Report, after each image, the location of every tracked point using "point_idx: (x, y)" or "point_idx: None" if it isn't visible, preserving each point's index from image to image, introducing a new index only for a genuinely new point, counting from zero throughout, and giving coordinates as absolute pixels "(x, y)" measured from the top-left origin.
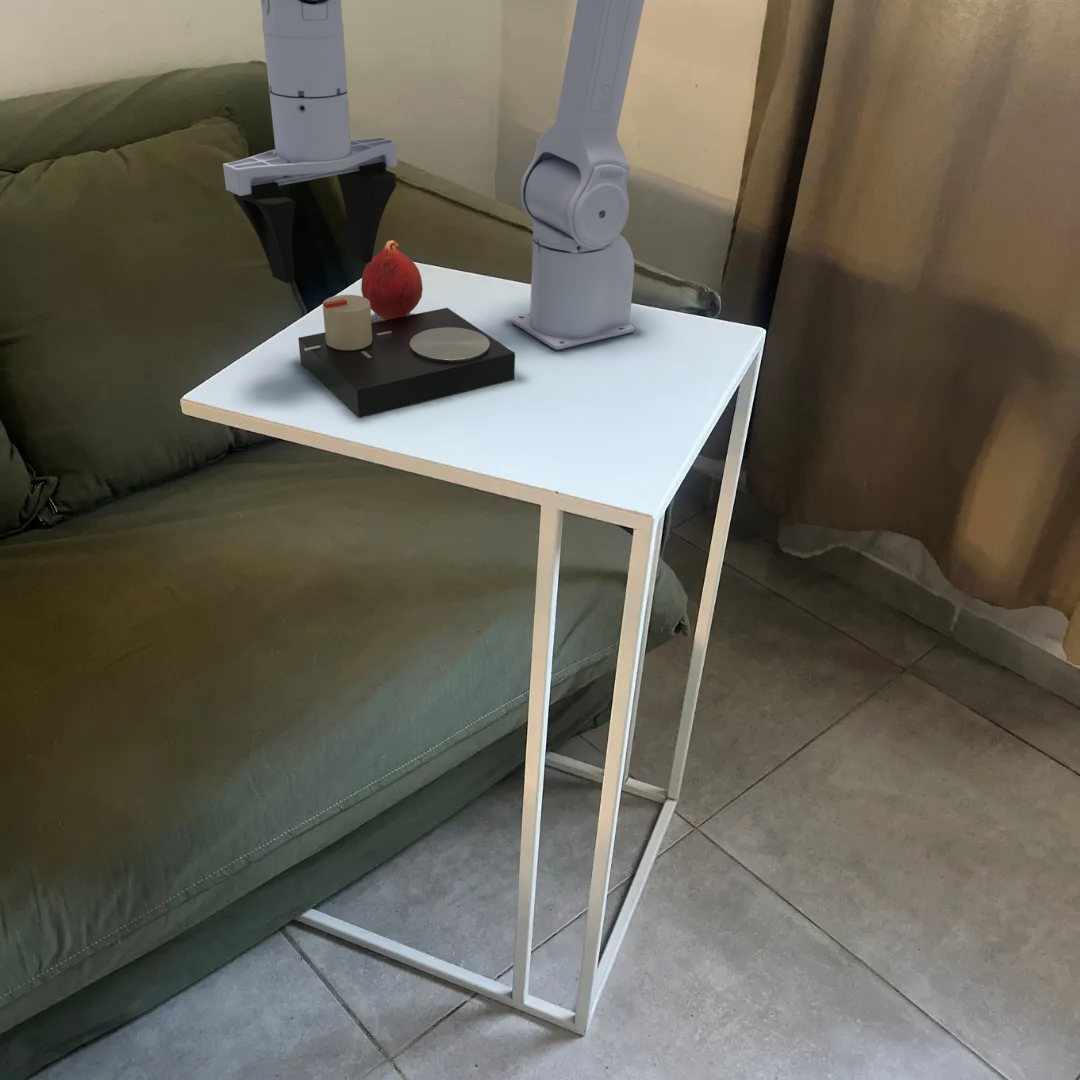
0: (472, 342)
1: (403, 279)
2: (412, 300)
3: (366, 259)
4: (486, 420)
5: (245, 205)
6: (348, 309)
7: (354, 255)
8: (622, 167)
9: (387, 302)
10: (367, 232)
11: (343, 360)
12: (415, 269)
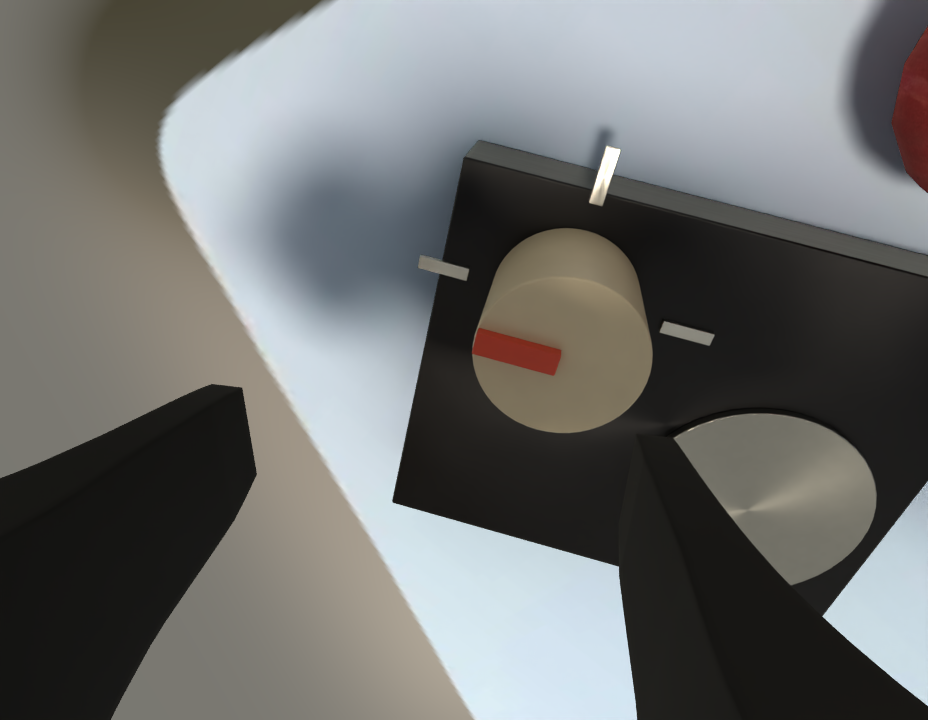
0: (791, 546)
1: None
2: None
3: (619, 541)
4: (590, 612)
5: None
6: (522, 407)
7: (632, 464)
8: None
9: (911, 177)
10: (634, 662)
11: (465, 378)
12: None
